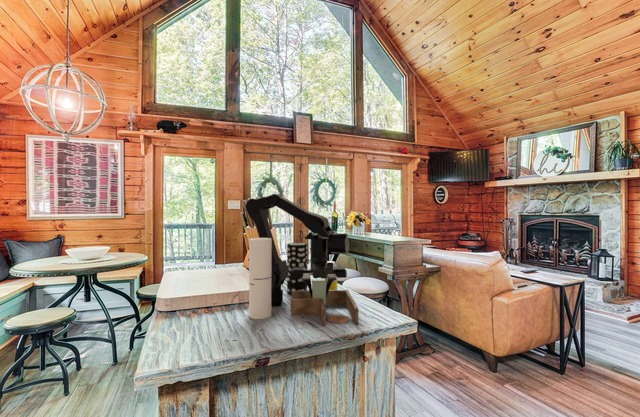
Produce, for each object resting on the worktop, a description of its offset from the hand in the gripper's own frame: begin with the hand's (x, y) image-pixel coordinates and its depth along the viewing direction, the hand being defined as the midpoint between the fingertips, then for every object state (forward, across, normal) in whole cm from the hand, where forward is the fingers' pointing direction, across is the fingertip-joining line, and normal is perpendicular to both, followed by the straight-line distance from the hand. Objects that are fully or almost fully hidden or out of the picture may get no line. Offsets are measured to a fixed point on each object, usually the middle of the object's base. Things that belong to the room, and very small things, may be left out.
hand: (318, 297), depth 109 cm
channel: (+4, 0, -4) cm, 6 cm away
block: (+2, 0, 0) cm, 2 cm away
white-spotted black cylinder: (+4, -8, +21) cm, 23 cm away
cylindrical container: (+4, -20, -5) cm, 21 cm away
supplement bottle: (+4, +5, +19) cm, 20 cm away
